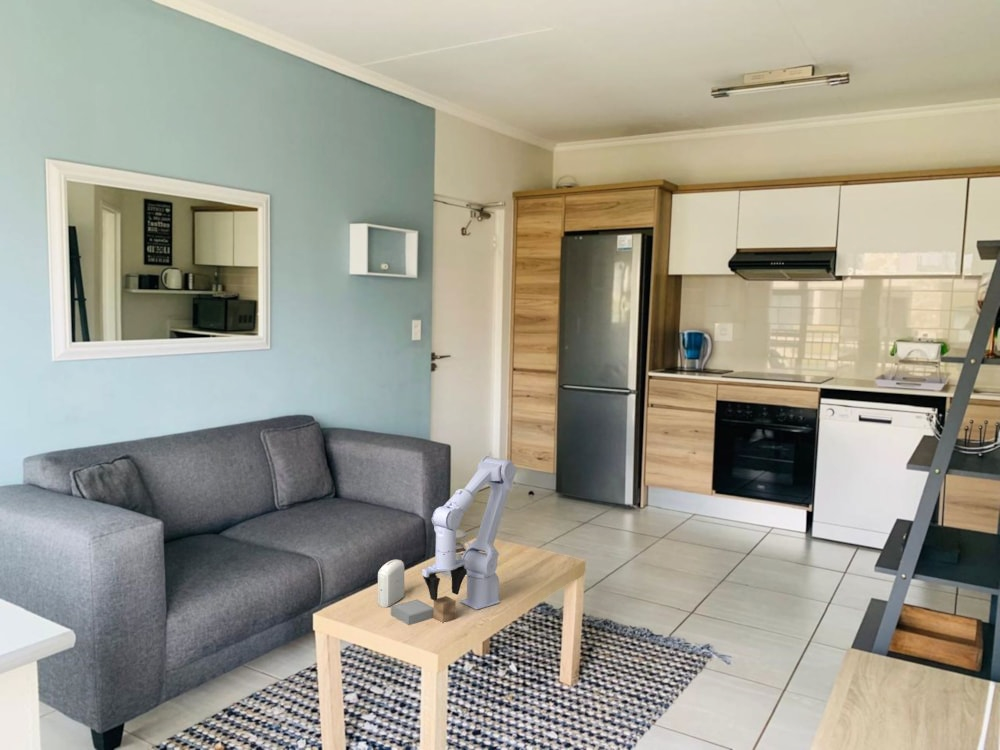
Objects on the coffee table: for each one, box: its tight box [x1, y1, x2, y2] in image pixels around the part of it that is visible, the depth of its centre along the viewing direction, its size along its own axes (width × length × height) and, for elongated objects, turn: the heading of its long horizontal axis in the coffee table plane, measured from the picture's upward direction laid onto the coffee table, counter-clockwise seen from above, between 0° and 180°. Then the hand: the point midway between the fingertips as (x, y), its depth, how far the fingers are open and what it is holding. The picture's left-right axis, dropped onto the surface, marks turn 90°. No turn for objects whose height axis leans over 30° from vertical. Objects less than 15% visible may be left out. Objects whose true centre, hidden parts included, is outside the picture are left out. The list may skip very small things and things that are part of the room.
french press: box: [441, 528, 469, 578], centre depth 247 cm, size 10×12×25 cm
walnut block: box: [432, 595, 457, 624], centre depth 211 cm, size 4×4×6 cm
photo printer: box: [377, 559, 405, 608], centre depth 222 cm, size 10×4×12 cm, turn 156°
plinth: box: [390, 598, 434, 626], centre depth 212 cm, size 9×9×2 cm
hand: (444, 596), depth 211 cm, fingers open, 7 cm apart
